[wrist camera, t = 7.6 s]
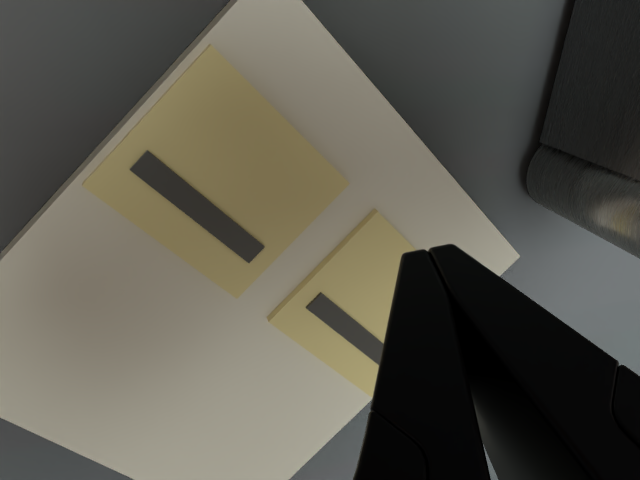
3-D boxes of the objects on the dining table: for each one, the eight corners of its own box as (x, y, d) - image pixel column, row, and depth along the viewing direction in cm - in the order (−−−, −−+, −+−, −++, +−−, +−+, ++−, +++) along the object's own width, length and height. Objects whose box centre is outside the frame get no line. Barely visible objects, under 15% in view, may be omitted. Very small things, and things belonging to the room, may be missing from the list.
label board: (234, 503, 23) (240, 536, 21) (-85, 346, 17) (-106, 379, 15) (501, 243, 21) (527, 261, 20) (261, -35, 15) (274, -37, 14)
